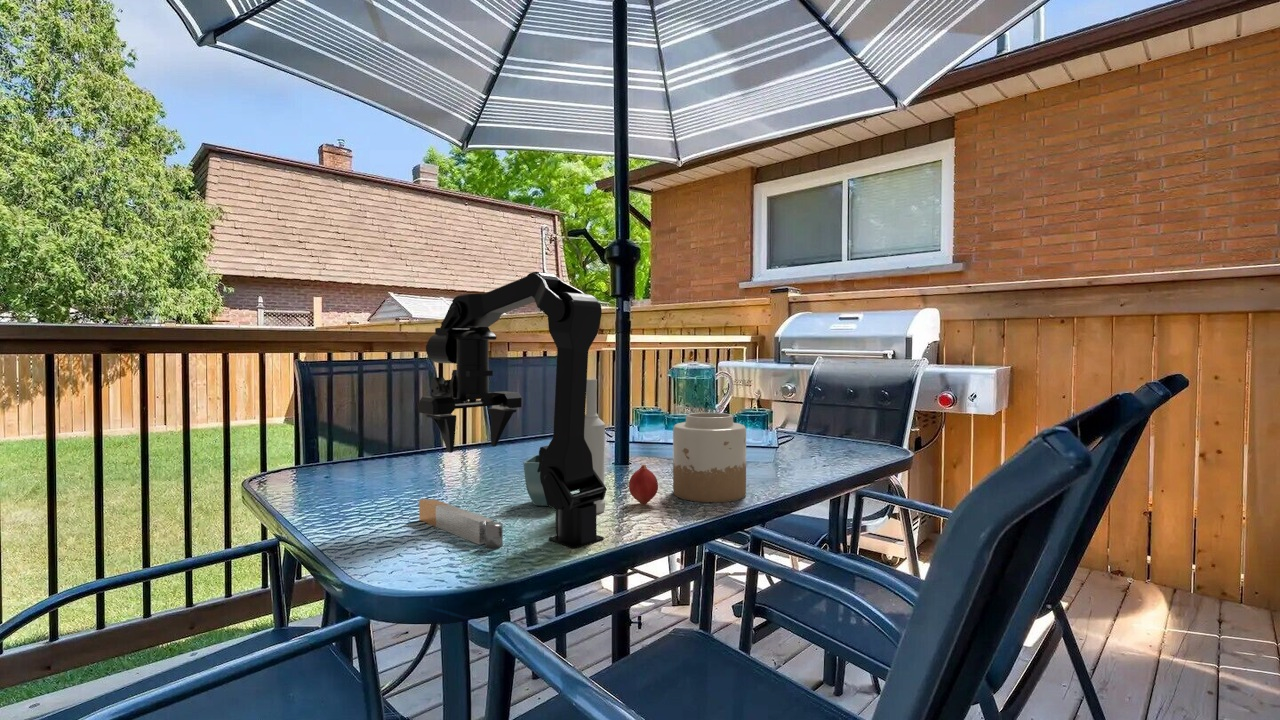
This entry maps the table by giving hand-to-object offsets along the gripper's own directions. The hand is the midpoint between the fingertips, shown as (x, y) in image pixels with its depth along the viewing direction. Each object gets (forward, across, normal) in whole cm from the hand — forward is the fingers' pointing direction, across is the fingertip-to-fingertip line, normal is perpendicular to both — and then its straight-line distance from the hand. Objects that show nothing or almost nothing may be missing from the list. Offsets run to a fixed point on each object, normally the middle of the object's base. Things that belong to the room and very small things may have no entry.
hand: (472, 449), depth 114 cm
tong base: (+12, +8, +8) cm, 16 cm away
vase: (+12, -43, +23) cm, 50 cm away
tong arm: (+12, +8, +6) cm, 16 cm away
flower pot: (+12, -15, +4) cm, 20 cm away
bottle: (+12, -17, +14) cm, 25 cm away
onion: (+12, -27, +18) cm, 35 cm away
